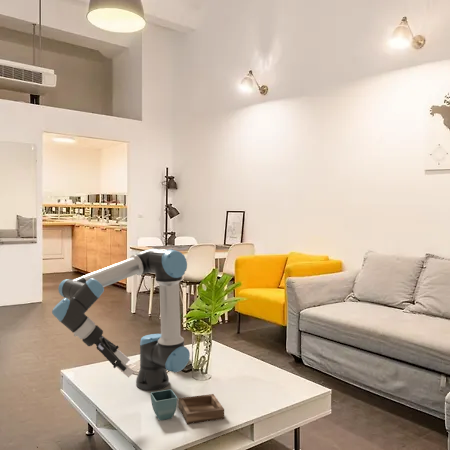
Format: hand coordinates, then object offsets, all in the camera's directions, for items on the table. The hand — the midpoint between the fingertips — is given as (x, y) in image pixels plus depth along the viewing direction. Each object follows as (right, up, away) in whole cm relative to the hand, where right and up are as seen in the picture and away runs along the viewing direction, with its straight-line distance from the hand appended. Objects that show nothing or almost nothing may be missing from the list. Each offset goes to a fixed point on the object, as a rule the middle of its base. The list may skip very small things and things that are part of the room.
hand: (129, 368), depth 172 cm
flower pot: (+12, -21, +5) cm, 25 cm away
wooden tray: (+27, -21, +9) cm, 36 cm away
